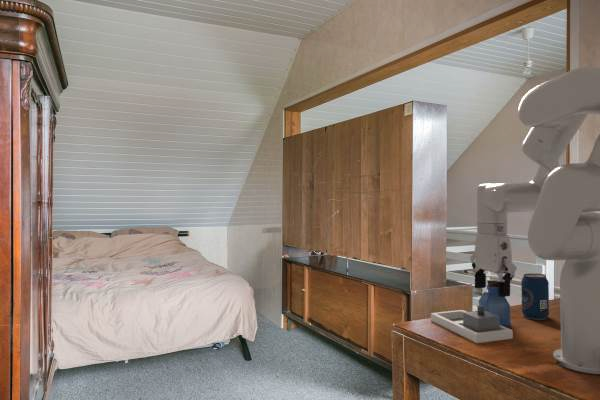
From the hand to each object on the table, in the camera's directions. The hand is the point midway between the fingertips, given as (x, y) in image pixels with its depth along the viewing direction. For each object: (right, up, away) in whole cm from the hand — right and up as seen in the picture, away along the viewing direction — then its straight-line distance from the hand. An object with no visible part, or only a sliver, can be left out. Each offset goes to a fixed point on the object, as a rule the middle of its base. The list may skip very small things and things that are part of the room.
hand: (491, 291), depth 123 cm
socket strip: (-8, -9, -6) cm, 14 cm away
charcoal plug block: (-7, -8, -11) cm, 16 cm away
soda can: (+15, -9, +6) cm, 19 cm away
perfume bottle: (0, -9, -1) cm, 9 cm away
